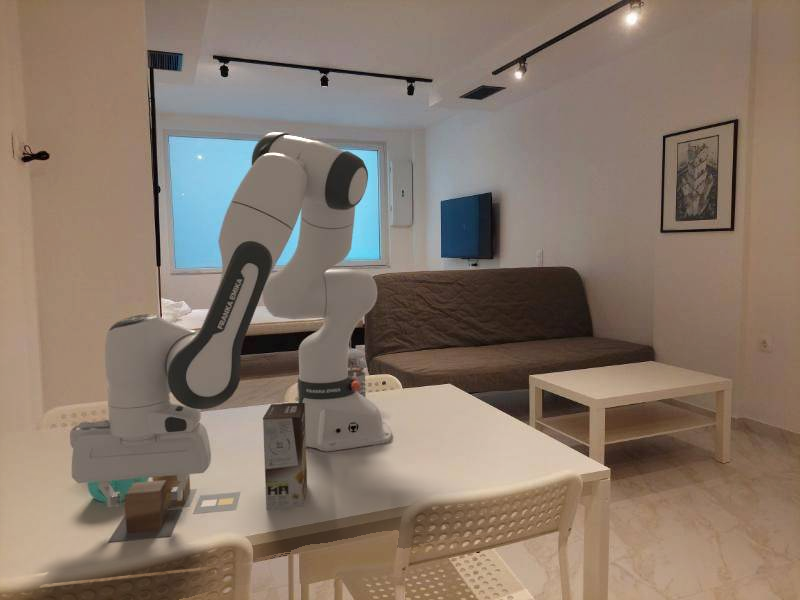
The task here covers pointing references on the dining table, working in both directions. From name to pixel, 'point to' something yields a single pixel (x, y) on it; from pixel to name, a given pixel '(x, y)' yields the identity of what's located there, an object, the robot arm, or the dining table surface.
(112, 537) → the felt pad
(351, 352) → the french press
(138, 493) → the walnut block
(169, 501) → the oak block
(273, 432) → the coffee box
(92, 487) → the decorative dice
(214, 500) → the code tile
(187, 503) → the code tile
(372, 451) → the dining table surface
